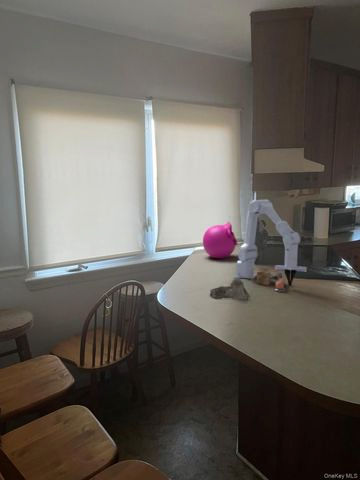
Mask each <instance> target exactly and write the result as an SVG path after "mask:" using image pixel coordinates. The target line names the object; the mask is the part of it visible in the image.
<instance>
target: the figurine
mask: <svg viewBox="0 0 360 480" xmlns="http://www.w3.org/2000/svg"><path fill="white" fill-rule="evenodd" d="M202 245H203V249H204V251H205V253H206V254H207V255H208V256H209V257H212V258H215V259H224V258H227V257H230V255H232V254H233V252H234V251H235V250H236V246H238V240H237V238H236V236H235V233H234V232H233V226H232V222H230V221H227V223H225V224H216V225H213V226H210V227H209V228H207V229H206V231H205V232H204V233H203V238H202Z"/></svg>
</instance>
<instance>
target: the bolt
mask: <svg viewBox="0 0 360 480" xmlns="http://www.w3.org/2000/svg"><path fill="white" fill-rule="evenodd" d="M279 278H283V279H284V270H277V274H271V275H269V279H271V280H275V281H276V282H278V281H279Z"/></svg>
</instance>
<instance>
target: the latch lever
mask: <svg viewBox="0 0 360 480" xmlns="http://www.w3.org/2000/svg"><path fill="white" fill-rule="evenodd" d="M284 284H285V283H284V277H283V278H279V281H278V282H277V281H275V288H276V289H279V290H282V289H283V288H284V289H285V287H284V286H285V285H284Z"/></svg>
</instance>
